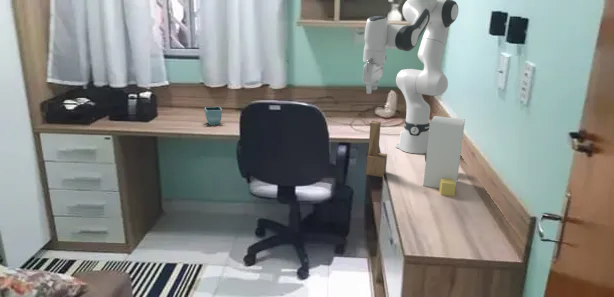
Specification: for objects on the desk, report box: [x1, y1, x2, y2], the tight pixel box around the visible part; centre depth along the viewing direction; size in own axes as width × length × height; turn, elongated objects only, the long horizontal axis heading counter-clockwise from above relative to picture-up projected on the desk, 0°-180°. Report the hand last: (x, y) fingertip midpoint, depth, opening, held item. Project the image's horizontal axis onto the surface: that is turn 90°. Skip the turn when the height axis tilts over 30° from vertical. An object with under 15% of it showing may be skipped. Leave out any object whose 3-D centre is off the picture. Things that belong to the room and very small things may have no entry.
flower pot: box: [204, 106, 223, 126], centre depth 279 cm, size 9×9×9 cm
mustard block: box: [438, 179, 457, 197], centre depth 191 cm, size 5×5×5 cm
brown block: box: [365, 120, 388, 178], centre depth 208 cm, size 7×22×7 cm
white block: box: [423, 115, 466, 189], centre depth 198 cm, size 12×12×26 cm
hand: (371, 91), depth 204 cm, fingers open, 8 cm apart
